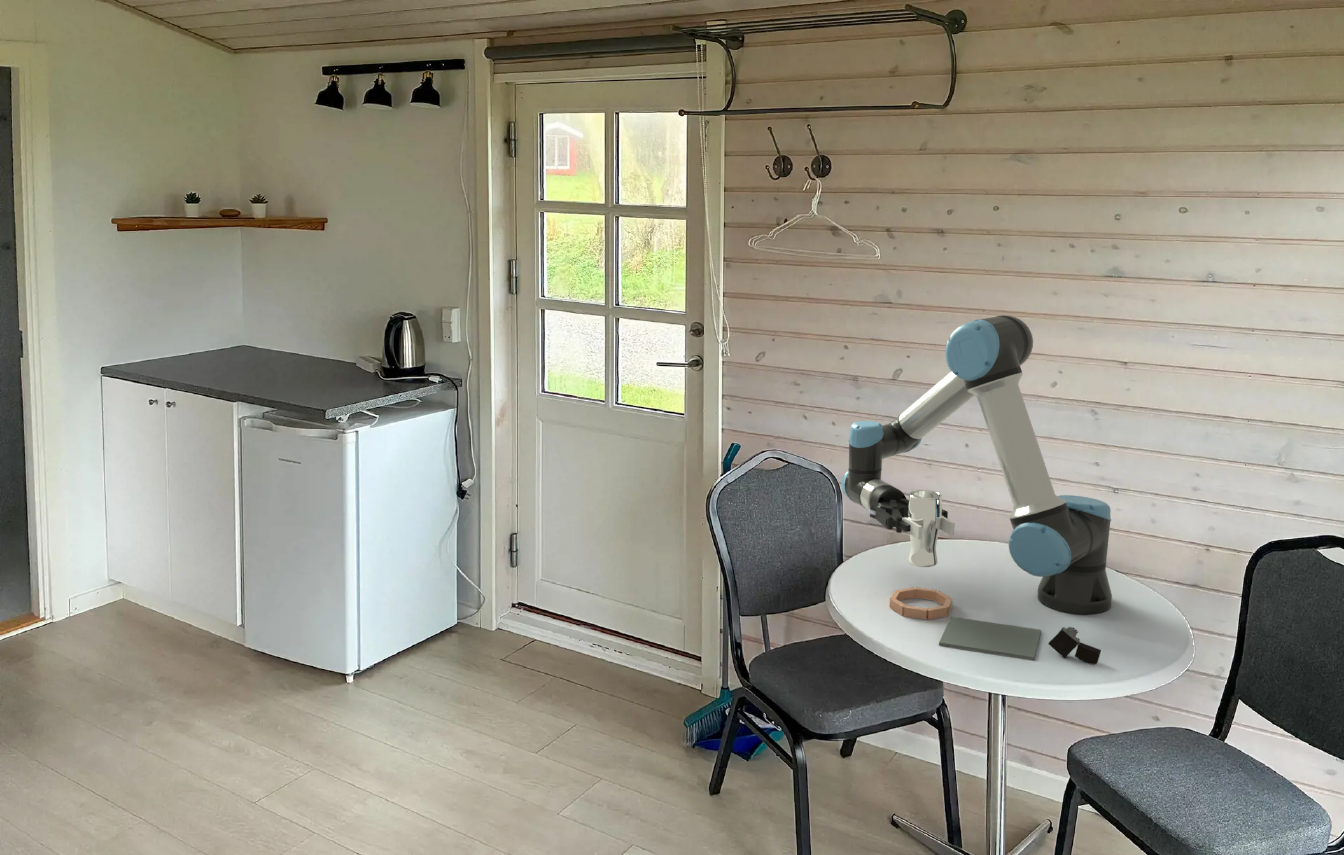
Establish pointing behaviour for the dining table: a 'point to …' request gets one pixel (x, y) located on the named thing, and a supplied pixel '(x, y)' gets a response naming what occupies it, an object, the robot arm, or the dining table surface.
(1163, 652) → the dining table surface
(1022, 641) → the mat
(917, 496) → the beer glass
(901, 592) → the coaster ring
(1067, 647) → the lighter
